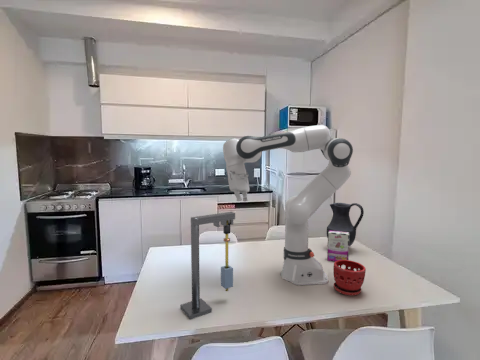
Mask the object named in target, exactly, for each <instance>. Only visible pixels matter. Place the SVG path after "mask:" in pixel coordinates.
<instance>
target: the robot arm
mask: <svg viewBox="0 0 480 360" xmlns="http://www.w3.org/2000/svg"><path fill="white" fill-rule="evenodd" d="M277 149H284V150H287V151H289V152H291V153H304V152H309V151H313V150H320V151H321V153H322V155H323V157H324V158H325V159H326V160H327V161H328V164H327V166H326V167H325V168H324V169H323V170H322V171H321V172H320V173H319V174H318V175H316V176H315V177H314V178H313V179H312V180H311V181H309V182H308V183H307V185H306V186H305V187H304V188H303V189H302V190H301V191H300V192H299V193H298V194H297V195H293V196H290V197H289V198H288V199H287V200H286V203H285V210H284V212H285V213H284V214H285V219H284V221H285V223H284V224H285V226H284V228H285V229H284V231H285V232H284V247H283V264H282V270H281V272H280V277H281V278H282V279H284V280H285V281H288V282H290V283H292V285H293V284H294V285H296V286H302V285H303V286H304V285H305V286H307V285H309V286H310V285H327V284H328V283H329V276H328V274H327V273H326V272H325V271H324V268H323V265H322V264H321V262H320V261H319V260H317V259H316V258H315V253H314V252H313V251H312V249H311V248H309V219H310V218H311V216H313V214H315V213H316V211H317V210H319V209H320V207H321V206H322V205H323V204H324V202H326V201H327V200H328V199H329V198H330V197H332V196H333V195H334V194H335V193H337V191H338V190H339V189H341V187H342V186H343V185H344V184H345V183H346V182H347V181H348V179H349V178H350V177H351V175H352V171H351V168H350V167H349V164H350V162H351V159H352V156H353V152H354V149H353V145H352V143H351V142H350V141H349V140H348V139H345V138H340V137H339V138H338V137H333V136H332V135H331V131H330V129H329V127H328V126H326V125H325V124H324V125H323V124H317V125H309V126H304V127H300V128H295V129H293V130H288V131H285V132H281V133H276V134H275V133H274V134H270V135H263V136H252V135H246V136H245V135H244V136H243V137H241V138H239V139H238V138H234V137H233V138H230V139H227V140H226V141H225V142H224V143H223V145H222V151H223V157H224V158H223V159H224V161H225V164H226V166H225V168H226V173H227V179H228V181H227V182H228V186H229V187H228V188H229V190H230V192H233V193H234V196H235V198H236V201H237V202H241V201H243V202H248V193H249V192H250V190H251V189H250V183H249V178H248V177H249V173H248V171H247V169H246V165H245V164H248V163H250V164H251V163H256V162H258V161H259V160H261V158H262V155H263V154H262V152H266V151H267V152H268V151H272V150H277ZM241 194H242V197H241Z"/></svg>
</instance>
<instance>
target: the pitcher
mask: <svg viewBox="0 0 480 360" xmlns="http://www.w3.org/2000/svg"><path fill="white" fill-rule="evenodd" d="M353 206H356V207H358V208H359V210H360V215H359V217H358V218H357V221H356V222H355V224H354V225H353V223H352V221H351V218H350V211H351V208H352V207H353ZM329 207H330V208H331V211H332V213H333V215H332V216H331V220H330V222H329V224H328V225H327V226H326V238H327V239H328V232H329V231H340V232H349V248H350V247H351V246H352V245H353V244H354V242H355V240H356V236H357V229H358V226H359V224H360V223H361V221H362V220H363V218H364V217H363V216H364V207H363V206H362V205H361V204H359V203H355V202H354V203H345V202H334V203H331V204H329Z"/></svg>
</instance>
